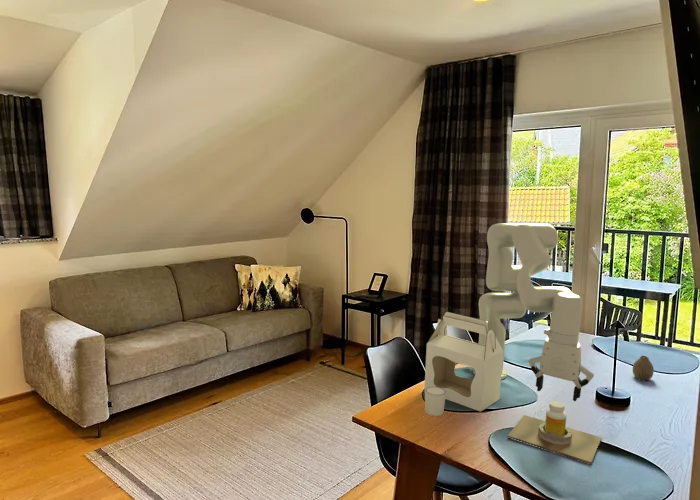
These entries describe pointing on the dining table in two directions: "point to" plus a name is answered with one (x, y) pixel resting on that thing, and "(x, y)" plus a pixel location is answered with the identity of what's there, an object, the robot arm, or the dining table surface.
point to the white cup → (435, 400)
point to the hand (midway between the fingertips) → (557, 394)
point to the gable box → (464, 362)
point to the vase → (643, 368)
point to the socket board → (569, 450)
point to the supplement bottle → (555, 419)
